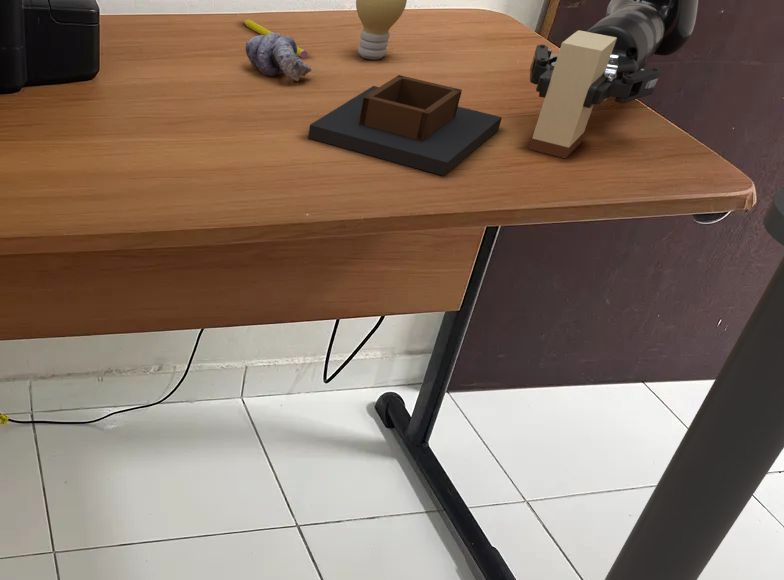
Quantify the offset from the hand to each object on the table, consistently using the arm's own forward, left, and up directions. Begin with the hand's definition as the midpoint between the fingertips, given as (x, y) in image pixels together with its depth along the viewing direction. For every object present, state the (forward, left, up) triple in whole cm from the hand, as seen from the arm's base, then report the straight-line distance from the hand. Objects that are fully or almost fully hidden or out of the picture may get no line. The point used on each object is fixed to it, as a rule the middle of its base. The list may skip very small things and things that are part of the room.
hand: (567, 92), depth 93 cm
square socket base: (+11, +11, -7) cm, 17 cm away
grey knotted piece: (+34, +13, -7) cm, 37 cm away
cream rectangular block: (+1, -2, -7) cm, 7 cm away
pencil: (+46, +5, -7) cm, 47 cm away
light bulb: (+34, -3, -7) cm, 35 cm away
